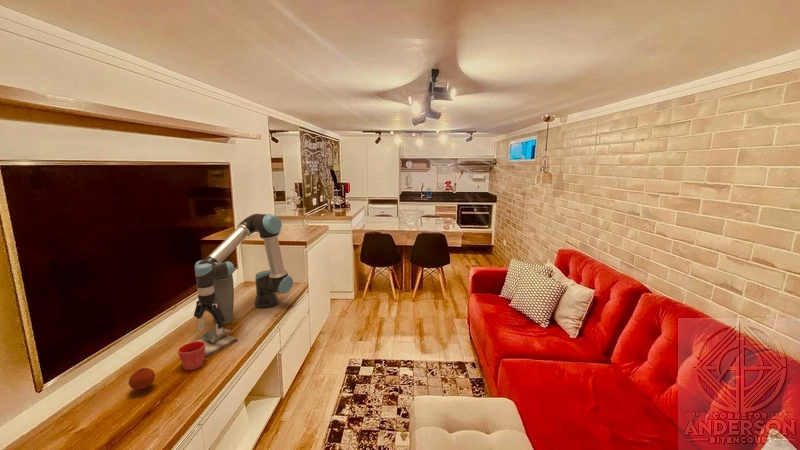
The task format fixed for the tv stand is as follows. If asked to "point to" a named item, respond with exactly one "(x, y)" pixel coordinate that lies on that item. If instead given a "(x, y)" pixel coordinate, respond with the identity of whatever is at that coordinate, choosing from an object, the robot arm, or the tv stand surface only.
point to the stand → (217, 345)
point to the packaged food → (214, 335)
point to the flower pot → (192, 355)
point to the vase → (225, 297)
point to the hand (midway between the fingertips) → (210, 331)
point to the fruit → (142, 378)
